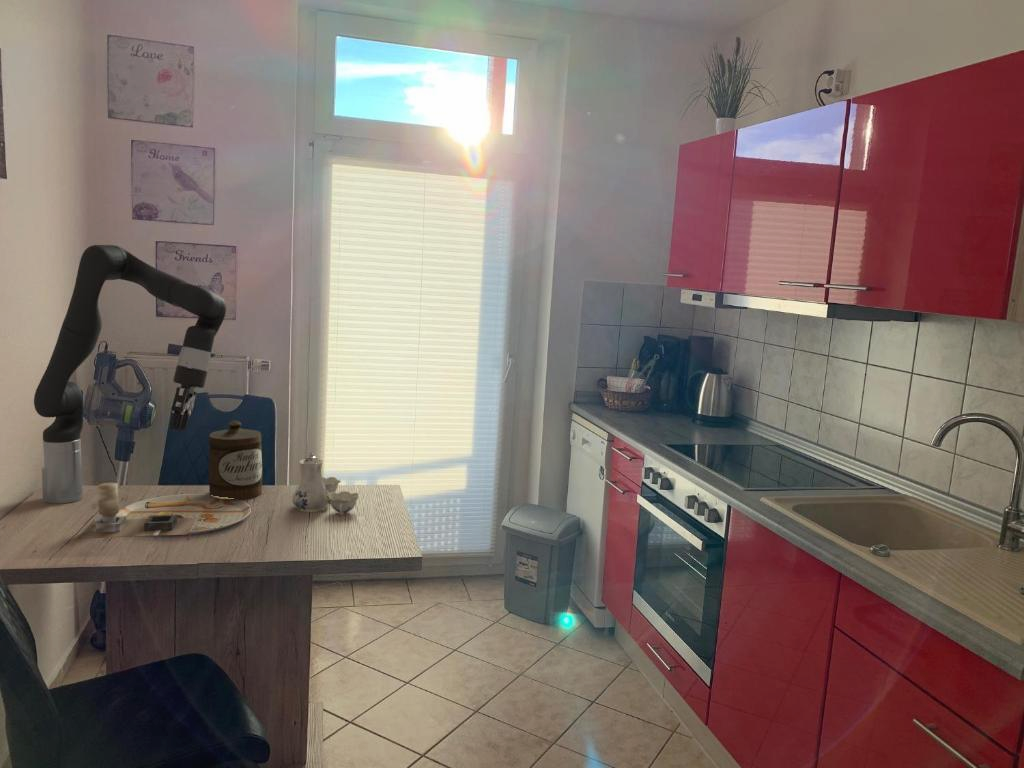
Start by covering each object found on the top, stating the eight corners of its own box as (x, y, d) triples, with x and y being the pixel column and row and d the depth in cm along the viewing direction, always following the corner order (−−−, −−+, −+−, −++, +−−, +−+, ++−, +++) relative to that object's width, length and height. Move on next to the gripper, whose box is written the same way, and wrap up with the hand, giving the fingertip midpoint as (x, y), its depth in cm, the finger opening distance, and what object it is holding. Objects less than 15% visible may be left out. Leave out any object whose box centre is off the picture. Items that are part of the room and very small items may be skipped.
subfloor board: (76, 544, 194) (76, 530, 194) (93, 526, 208) (93, 512, 207) (187, 540, 200) (187, 526, 199) (197, 522, 213) (197, 509, 213)
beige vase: (97, 531, 199) (95, 487, 198) (102, 525, 204) (100, 482, 202) (116, 530, 200) (115, 487, 199) (121, 525, 205) (119, 482, 203)
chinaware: (367, 521, 225) (374, 462, 223) (309, 524, 215) (316, 462, 214) (329, 496, 247) (335, 443, 246) (275, 498, 238) (280, 442, 237)
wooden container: (225, 503, 231) (224, 427, 228) (200, 492, 241) (198, 419, 238) (271, 494, 242) (271, 421, 239) (246, 484, 252) (245, 414, 249)
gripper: (182, 366, 214) (168, 427, 212) (171, 361, 200) (156, 426, 198) (211, 372, 216) (197, 432, 214) (203, 367, 202) (188, 432, 200)
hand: (177, 429), depth 206 cm, fingers open, 8 cm apart
